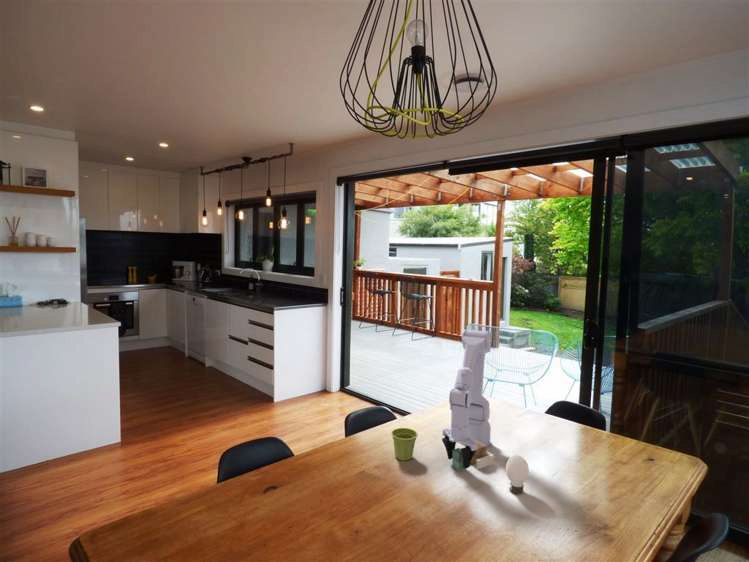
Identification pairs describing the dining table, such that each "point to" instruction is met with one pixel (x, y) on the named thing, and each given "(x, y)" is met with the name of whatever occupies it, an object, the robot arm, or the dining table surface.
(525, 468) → the light bulb
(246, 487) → the dining table surface
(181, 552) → the dining table surface
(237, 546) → the dining table surface
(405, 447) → the plant pot
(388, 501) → the dining table surface
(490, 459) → the shelf lane
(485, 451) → the tethered block
